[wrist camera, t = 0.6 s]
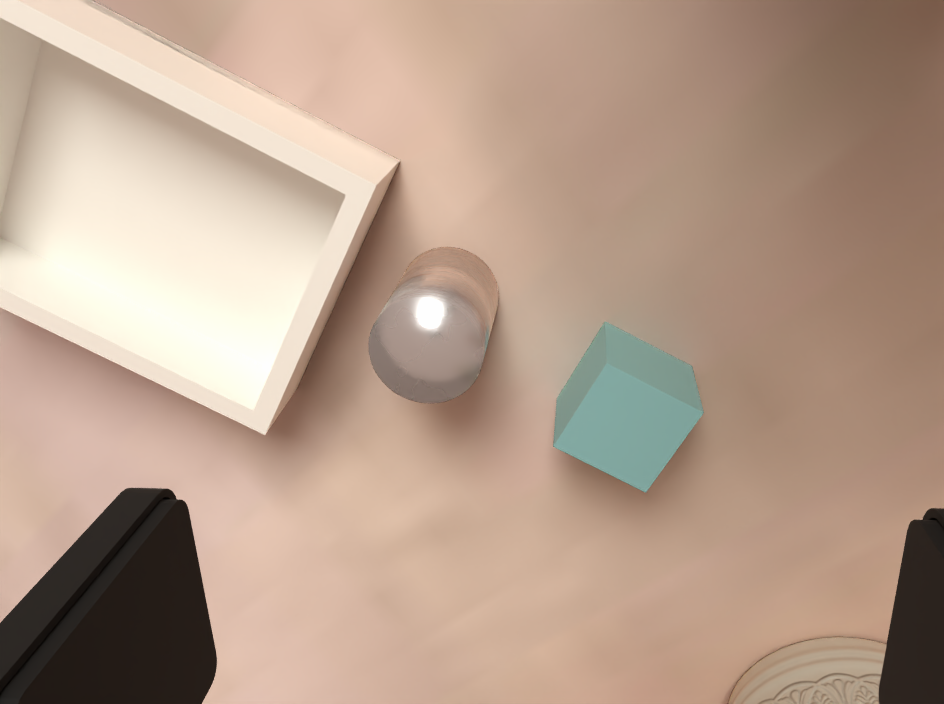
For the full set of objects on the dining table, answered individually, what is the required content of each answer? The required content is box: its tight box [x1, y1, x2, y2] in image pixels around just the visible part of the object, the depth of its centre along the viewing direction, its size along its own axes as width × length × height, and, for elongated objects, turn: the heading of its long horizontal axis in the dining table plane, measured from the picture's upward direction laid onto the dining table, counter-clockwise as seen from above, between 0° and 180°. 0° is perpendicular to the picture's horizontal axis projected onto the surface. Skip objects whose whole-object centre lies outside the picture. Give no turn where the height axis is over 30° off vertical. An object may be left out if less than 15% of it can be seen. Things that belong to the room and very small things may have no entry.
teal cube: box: [553, 322, 704, 493], centre depth 41 cm, size 5×5×5 cm
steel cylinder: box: [369, 247, 499, 403], centre depth 40 cm, size 5×5×7 cm
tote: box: [0, 0, 400, 435], centre depth 40 cm, size 14×18×5 cm
